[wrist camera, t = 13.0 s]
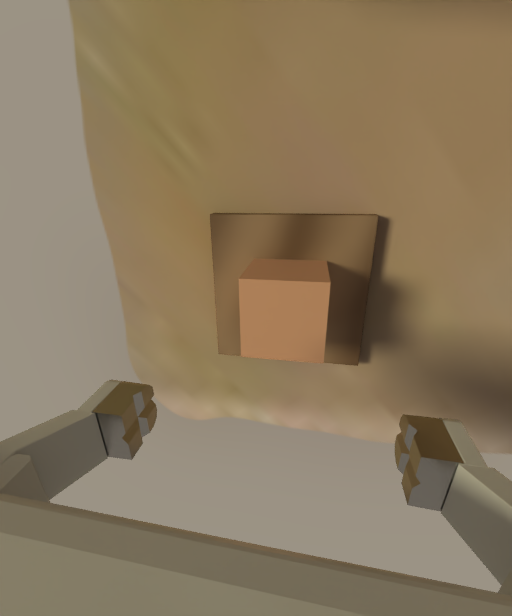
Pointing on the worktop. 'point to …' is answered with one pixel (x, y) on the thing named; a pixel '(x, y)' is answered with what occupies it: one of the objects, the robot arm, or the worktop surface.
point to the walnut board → (297, 246)
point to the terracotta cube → (284, 309)
